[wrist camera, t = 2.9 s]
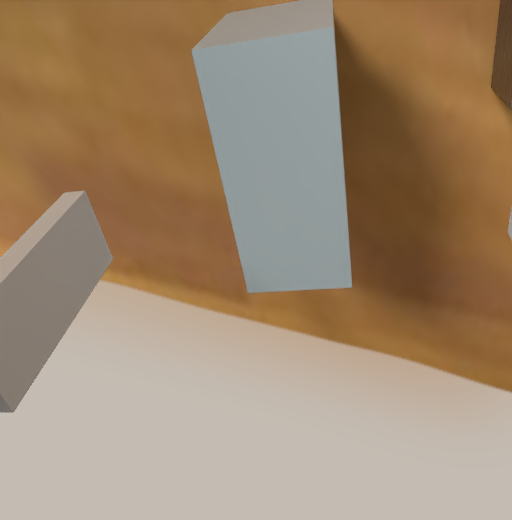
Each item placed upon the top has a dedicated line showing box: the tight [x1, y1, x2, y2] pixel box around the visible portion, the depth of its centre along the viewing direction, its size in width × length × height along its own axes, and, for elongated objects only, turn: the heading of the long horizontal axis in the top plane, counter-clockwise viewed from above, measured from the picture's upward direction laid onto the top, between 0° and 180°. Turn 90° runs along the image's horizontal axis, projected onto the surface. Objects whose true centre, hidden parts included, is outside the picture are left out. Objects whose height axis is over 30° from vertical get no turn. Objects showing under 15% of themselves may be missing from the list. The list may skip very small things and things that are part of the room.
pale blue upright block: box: [191, 0, 352, 293], centre depth 20 cm, size 4×9×10 cm, turn 10°
